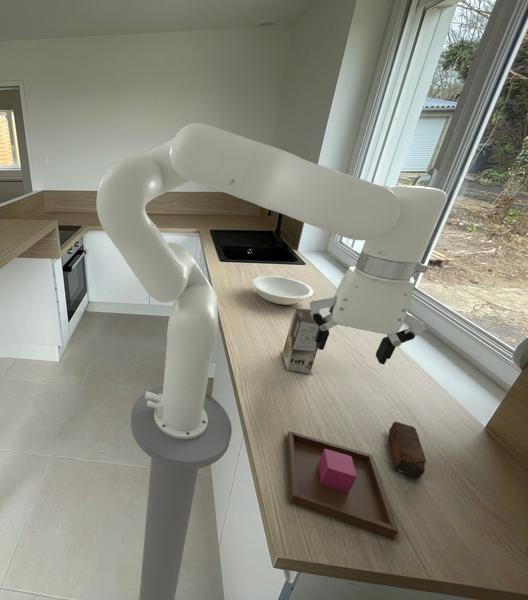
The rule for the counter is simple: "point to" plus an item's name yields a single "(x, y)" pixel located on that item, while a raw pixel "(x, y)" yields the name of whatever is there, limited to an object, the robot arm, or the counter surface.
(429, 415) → the counter surface
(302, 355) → the coffee box
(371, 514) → the tray
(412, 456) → the brick
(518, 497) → the counter surface
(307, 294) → the soup bowl
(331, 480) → the mulberry cube
